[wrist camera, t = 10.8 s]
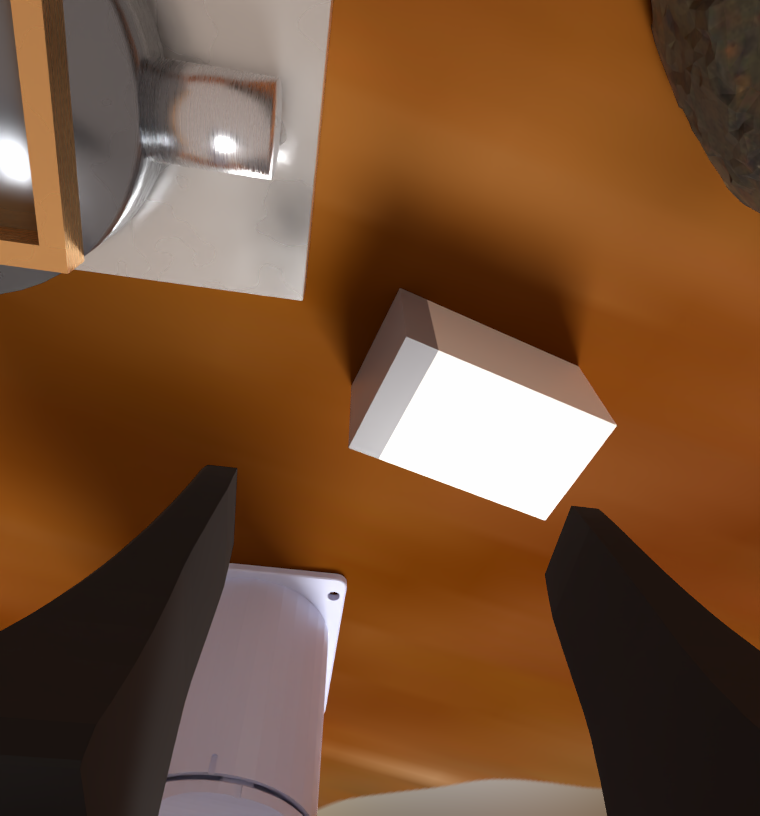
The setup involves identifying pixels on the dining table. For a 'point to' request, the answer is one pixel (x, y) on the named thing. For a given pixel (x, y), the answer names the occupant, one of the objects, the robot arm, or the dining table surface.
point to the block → (474, 408)
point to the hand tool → (717, 81)
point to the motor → (161, 140)
